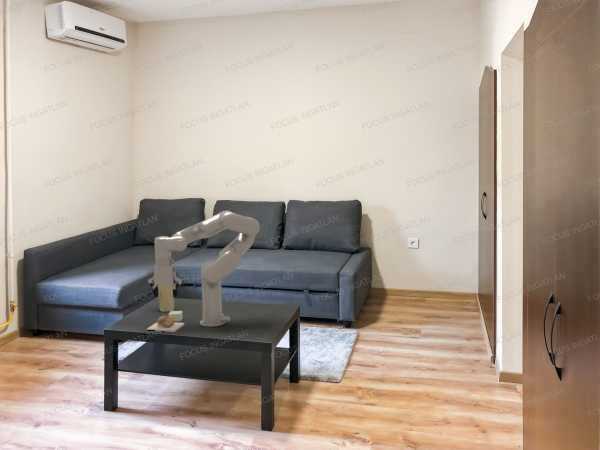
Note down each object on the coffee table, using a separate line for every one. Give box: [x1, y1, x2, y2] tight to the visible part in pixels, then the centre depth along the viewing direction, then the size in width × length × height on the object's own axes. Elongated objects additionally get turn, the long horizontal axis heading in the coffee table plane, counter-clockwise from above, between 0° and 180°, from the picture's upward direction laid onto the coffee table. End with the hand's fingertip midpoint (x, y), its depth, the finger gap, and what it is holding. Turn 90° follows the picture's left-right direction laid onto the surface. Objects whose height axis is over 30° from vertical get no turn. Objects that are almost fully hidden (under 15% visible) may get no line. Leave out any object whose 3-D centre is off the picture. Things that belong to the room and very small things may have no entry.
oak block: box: [156, 315, 175, 328], centre depth 275 cm, size 6×6×4 cm
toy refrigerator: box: [157, 285, 175, 313], centre depth 307 cm, size 8×7×21 cm
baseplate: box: [146, 322, 185, 333], centre depth 275 cm, size 14×12×1 cm
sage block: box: [167, 310, 183, 322], centre depth 289 cm, size 6×6×4 cm
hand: (165, 296), depth 273 cm, fingers open, 9 cm apart
